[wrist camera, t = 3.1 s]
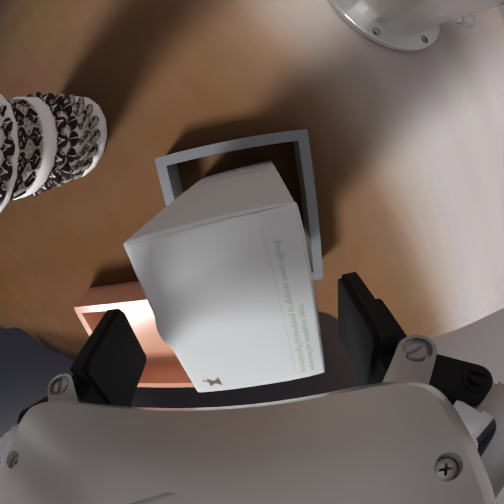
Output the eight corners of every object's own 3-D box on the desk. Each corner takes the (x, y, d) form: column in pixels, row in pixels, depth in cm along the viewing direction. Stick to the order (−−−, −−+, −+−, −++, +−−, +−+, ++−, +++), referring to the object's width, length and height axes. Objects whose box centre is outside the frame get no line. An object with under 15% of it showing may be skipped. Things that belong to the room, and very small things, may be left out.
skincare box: (290, 244, 26) (331, 378, 11) (222, 260, 26) (196, 399, 12) (271, 155, 22) (308, 198, 8) (195, 174, 23) (113, 248, 9)
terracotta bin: (187, 273, 27) (179, 295, 23) (218, 361, 32) (215, 385, 28) (89, 287, 28) (73, 307, 24) (131, 364, 33) (122, 386, 29)
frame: (300, 129, 21) (307, 129, 18) (316, 263, 26) (323, 278, 24) (165, 155, 22) (154, 158, 19) (199, 281, 27) (194, 298, 24)
